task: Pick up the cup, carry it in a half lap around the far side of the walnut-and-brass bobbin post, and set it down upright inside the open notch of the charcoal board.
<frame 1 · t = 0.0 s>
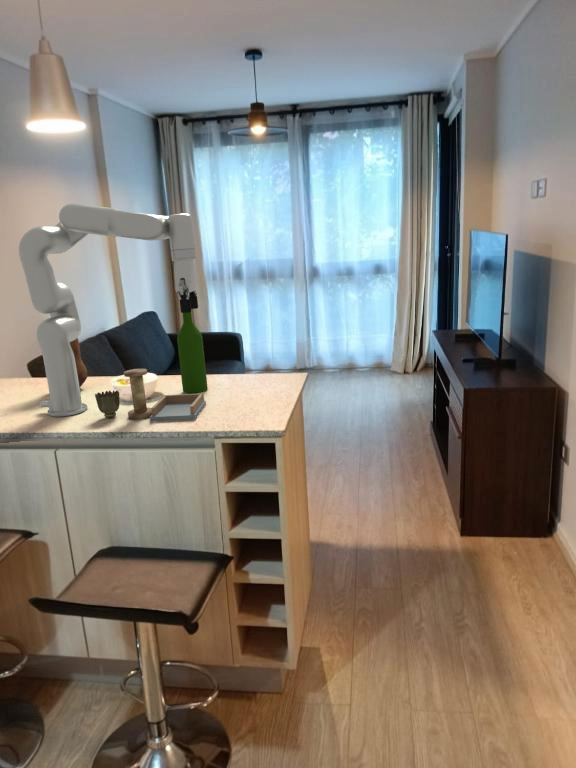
hand: (189, 310, 187), 31 cm above the countertop, tool pointing down, fingers open, 9 cm apart
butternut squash: (71, 391, 229), on the countertop
wine bottle: (195, 391, 215), on the countertop
notched board: (179, 413, 188), on the countertop
bobbin post: (141, 415, 188), on the countertop
cup: (110, 417, 189), on the countertop
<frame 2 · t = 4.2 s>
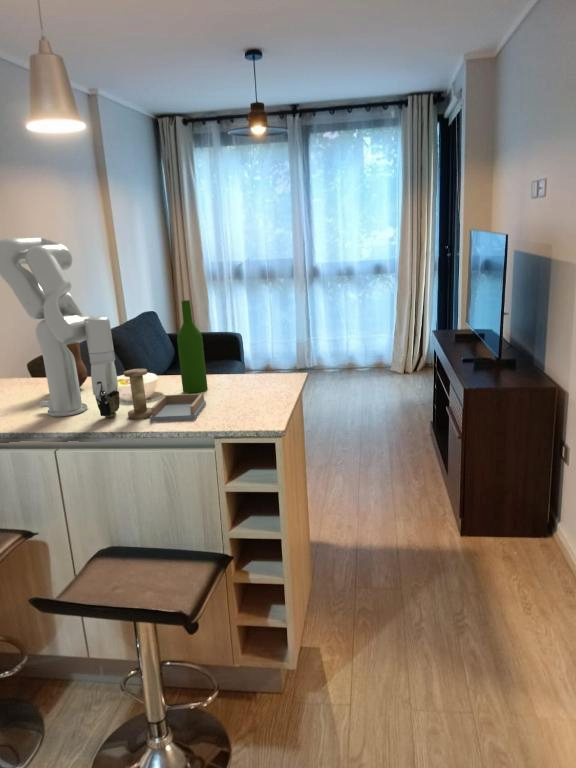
hand: (110, 411, 188), 2 cm above the countertop, tool pointing down, fingers closed on cup, 6 cm apart
cup: (110, 417, 188), on the countertop, touching gripper
everything else where it was.
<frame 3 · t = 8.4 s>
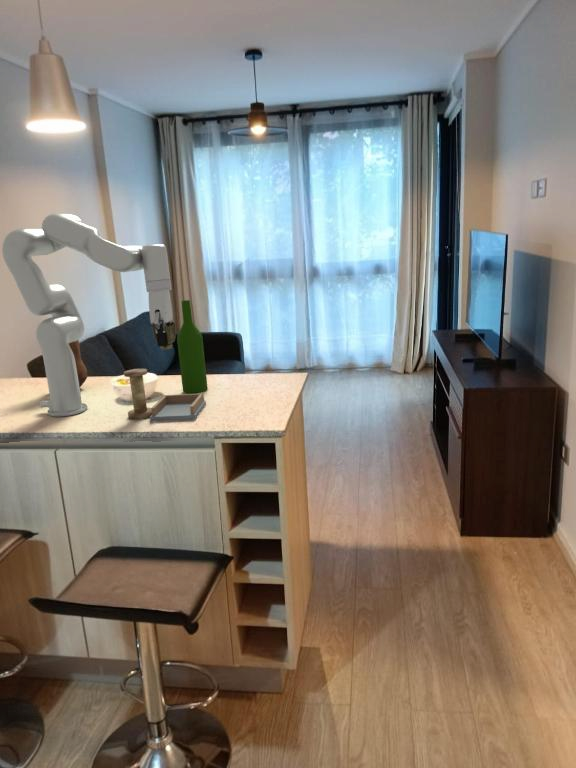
hand: (166, 343, 185), 22 cm above the countertop, tool pointing down, fingers closed on cup, 6 cm apart
cup: (166, 349, 185), point 20 cm above the countertop, touching gripper
everything else where it was.
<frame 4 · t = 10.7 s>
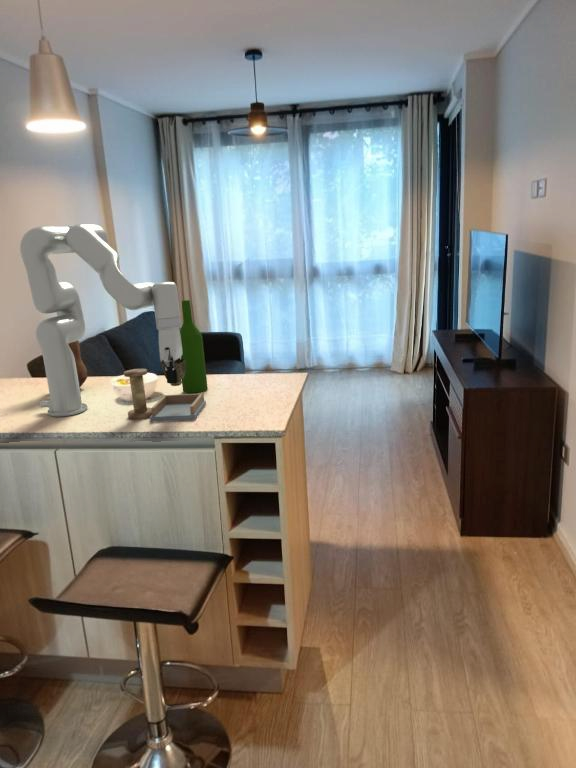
hand: (175, 379, 185), 11 cm above the countertop, tool pointing down, fingers closed on cup, 6 cm apart
cup: (176, 385, 185), point 9 cm above the countertop, touching gripper
everything else where it was.
when the fingers open (5 cm above the countertop, at t = 12.6 s): cup stays where it is, resting on notched board.
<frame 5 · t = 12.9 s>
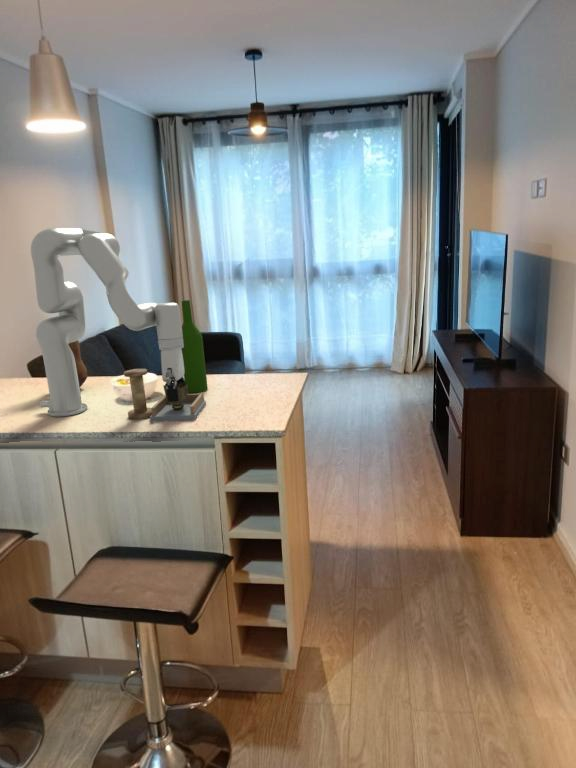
hand: (177, 397, 186), 5 cm above the countertop, tool pointing down, fingers open, 9 cm apart
cup: (178, 409, 187), point 1 cm above the countertop, touching notched board
everything else where it was.
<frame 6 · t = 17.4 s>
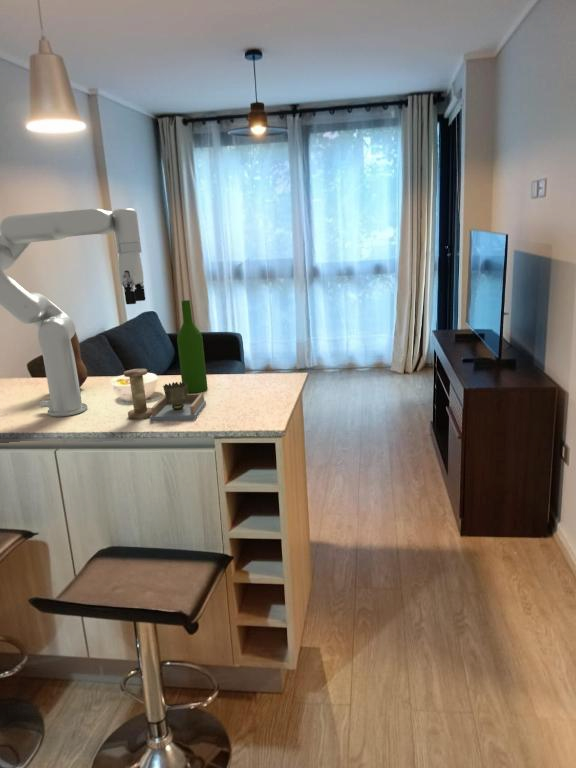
hand: (136, 302, 194), 34 cm above the countertop, tool pointing down, fingers open, 9 cm apart
nothing on the countertop moved.
at the end: cup inside the target area on the notched board (0.4 cm from its centre), point 1.3 cm above the notched board's base; cup tilted 0°; the gripper is holding nothing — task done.
